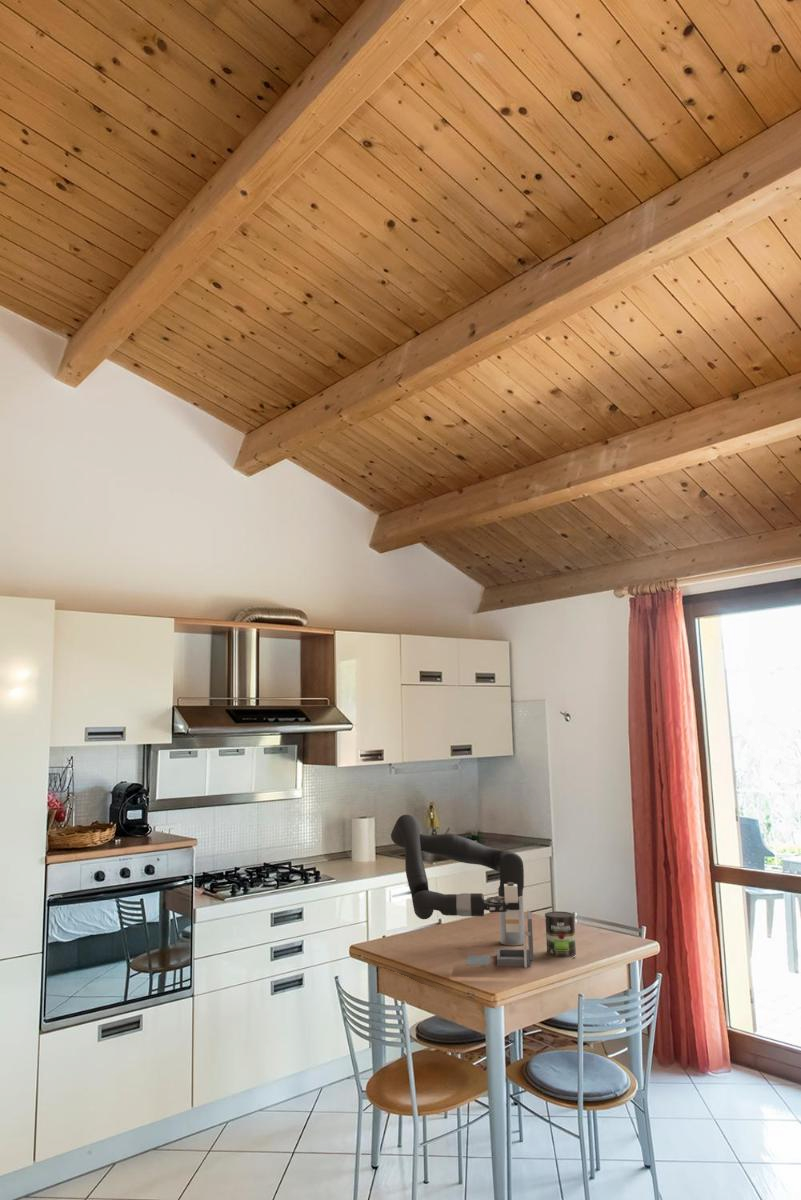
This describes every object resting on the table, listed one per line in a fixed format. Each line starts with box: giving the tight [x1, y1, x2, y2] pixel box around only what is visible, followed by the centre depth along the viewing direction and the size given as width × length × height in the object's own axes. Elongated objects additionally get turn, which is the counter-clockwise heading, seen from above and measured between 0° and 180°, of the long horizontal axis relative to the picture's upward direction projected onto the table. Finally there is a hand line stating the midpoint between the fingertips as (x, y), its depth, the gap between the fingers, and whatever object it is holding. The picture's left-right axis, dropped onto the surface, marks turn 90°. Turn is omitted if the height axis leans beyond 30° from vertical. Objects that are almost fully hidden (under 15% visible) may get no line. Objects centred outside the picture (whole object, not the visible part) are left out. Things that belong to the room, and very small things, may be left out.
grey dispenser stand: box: [496, 910, 535, 969], centre depth 280 cm, size 15×12×16 cm
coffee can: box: [544, 911, 577, 959], centre depth 290 cm, size 10×10×14 cm
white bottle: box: [504, 882, 519, 932], centre depth 283 cm, size 5×4×16 cm
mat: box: [465, 955, 491, 966], centre depth 281 cm, size 12×8×1 cm, turn 173°
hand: (519, 904), depth 283 cm, fingers closed on white bottle, 5 cm apart
